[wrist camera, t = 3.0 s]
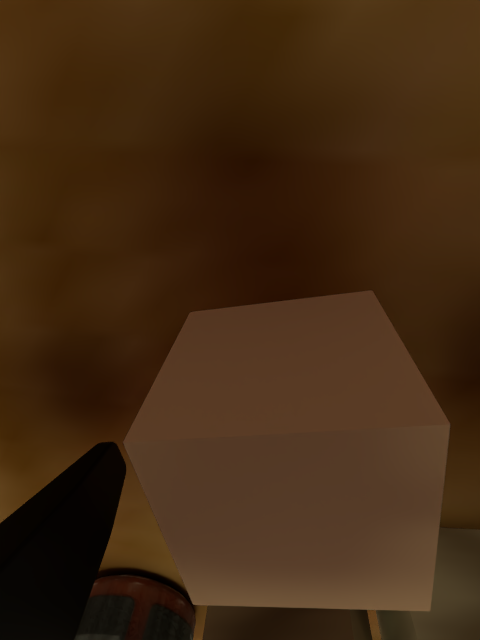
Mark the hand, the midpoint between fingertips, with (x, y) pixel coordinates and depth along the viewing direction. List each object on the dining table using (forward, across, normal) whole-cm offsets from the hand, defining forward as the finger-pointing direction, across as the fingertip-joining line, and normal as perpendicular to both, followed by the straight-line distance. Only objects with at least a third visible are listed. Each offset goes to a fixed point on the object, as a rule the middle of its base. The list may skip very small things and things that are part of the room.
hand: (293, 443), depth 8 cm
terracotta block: (+3, 0, 0) cm, 3 cm away
